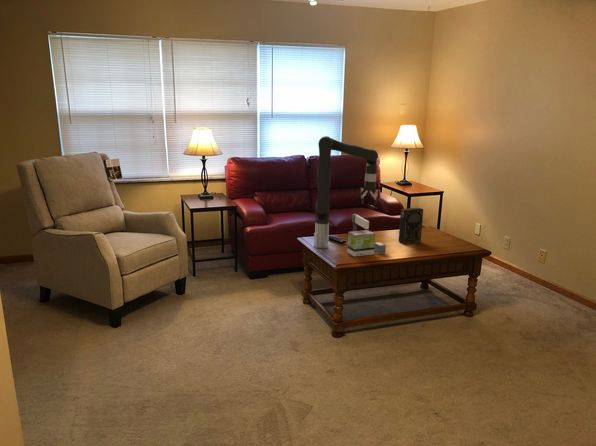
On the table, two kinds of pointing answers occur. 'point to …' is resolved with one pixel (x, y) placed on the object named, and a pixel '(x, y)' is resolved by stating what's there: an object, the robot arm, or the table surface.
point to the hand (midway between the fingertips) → (368, 204)
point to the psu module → (379, 248)
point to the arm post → (354, 226)
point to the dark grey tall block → (410, 225)
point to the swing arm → (360, 221)
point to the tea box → (361, 243)
